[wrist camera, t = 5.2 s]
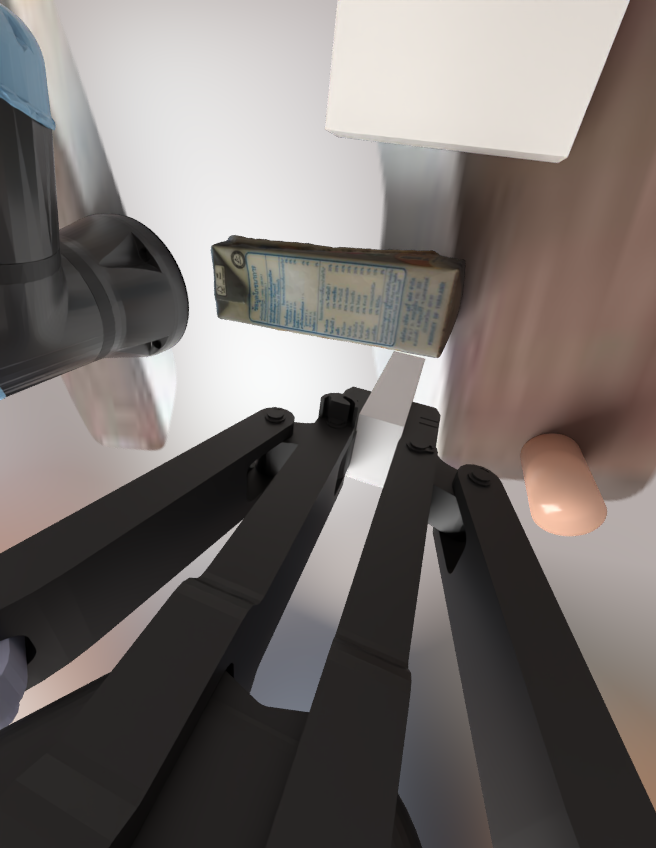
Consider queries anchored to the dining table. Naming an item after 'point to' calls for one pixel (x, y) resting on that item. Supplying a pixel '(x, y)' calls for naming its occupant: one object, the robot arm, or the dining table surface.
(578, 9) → the white flat slab
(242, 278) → the beverage carton
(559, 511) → the peach rounded cylinder
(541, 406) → the dining table surface
